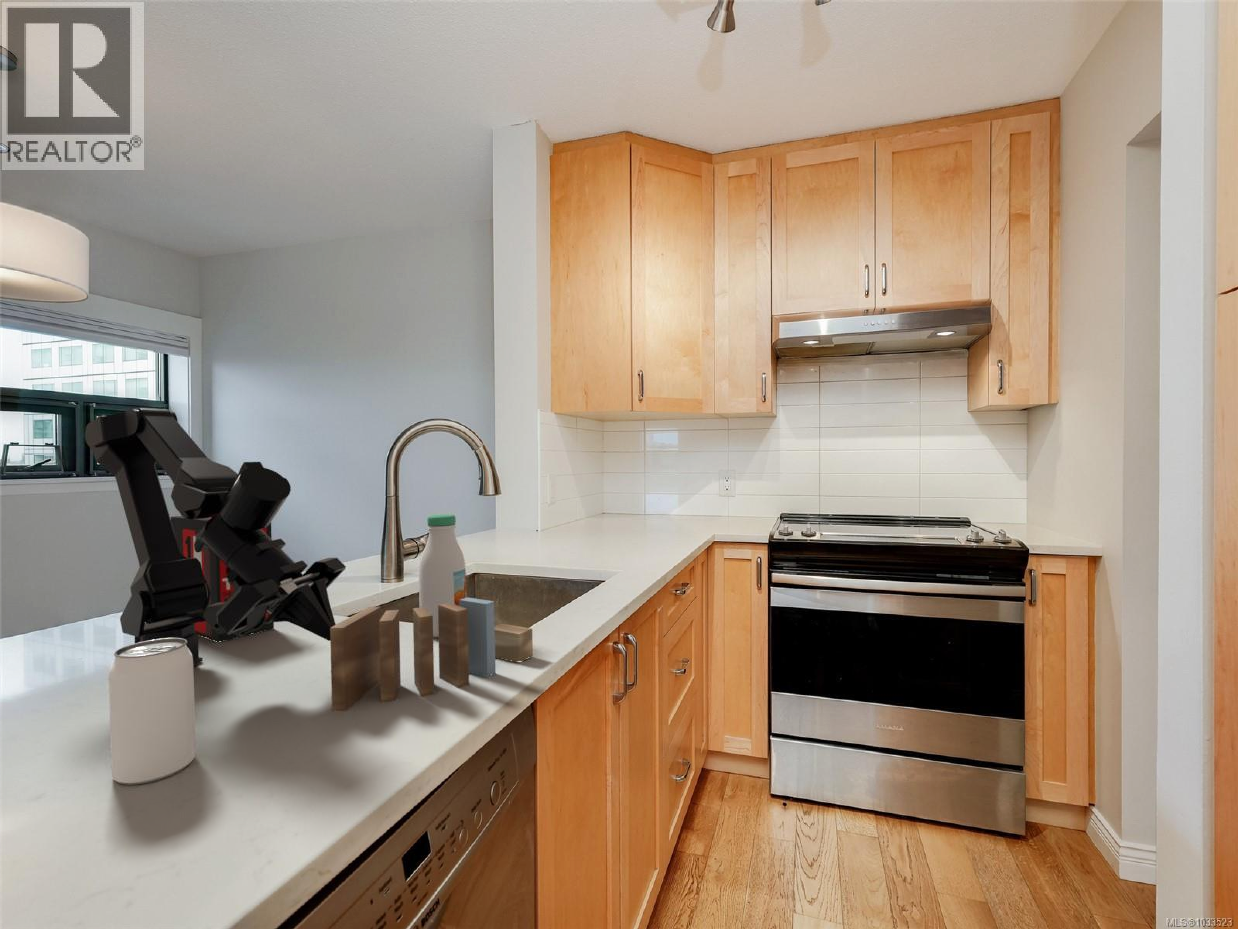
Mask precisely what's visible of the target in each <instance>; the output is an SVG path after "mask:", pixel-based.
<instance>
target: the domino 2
mask: <svg viewBox="0 0 1238 929" xmlns="http://www.w3.org/2000/svg"><path fill="white" fill-rule="evenodd" d="M379 633H380V679H381V682H380V702H381V703H383V702H393V701H396V698H397V696H398V693H399V691H400V688H401V684H402V683H401V682H402V681H401V649H400V648H401V645H400V644H401V641H400V637H401V636H400V635H401V634H400V609H391V610H385V612H384V613H383V614H382V615H381V619H380V621H379Z"/></svg>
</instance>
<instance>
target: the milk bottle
mask: <svg viewBox="0 0 1238 929" xmlns="http://www.w3.org/2000/svg"><path fill="white" fill-rule="evenodd" d="M426 521H427V529H428V538H427V541H426V544H425V547H424V549H423V551H422V554H421V556H420V560H419V566H418V568H419V570H418V571H419V572H418V592H419V594H418V597H419V599H418V600H419V601H418V602H419V605H418V606H419V607H418V608H420V607H426V608H427V609H428V610H429V612H430V613H431V614H432V615H433V638H439V629H438V605H439V604H444V603H452V604H455V605H457V606H459V600H461V599H464V598H467V574H466V573H467V572H466V571H467V570H466V561H465V557H464V554H463V551H462V549H461V547H460V545H459V543H458V540H457V538H456V533H455V529H456V521H457V520H456V515H454V514H433V515H429V516H427V520H426Z"/></svg>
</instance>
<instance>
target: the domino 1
mask: <svg viewBox="0 0 1238 929" xmlns="http://www.w3.org/2000/svg"><path fill="white" fill-rule="evenodd" d="M381 618H382V608H381V606H368V607H367V608H364V609H363V610H360V611H358V612H357V613H356V614H353V615H352V616H350V617H348V618H346V619H344V620H342V621H340V622H338V623H335V624H336V625H334V626H333V627H331V628H330V641H329V642H330V677H331V678H330V680H331V681H330V682H331V711H332V712H346V711H348V710H349V709H350V708H351V707H353V705H355V704H356V703H357V702H358V701H359V700H361V699H362V698H363V697H365V695H367V694H368V693H369V692H370V691H372V689H374V688H375V687H376V686H377V685H379V684H381V679H380V633H379V621H380V619H381Z"/></svg>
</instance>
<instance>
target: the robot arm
mask: <svg viewBox="0 0 1238 929" xmlns="http://www.w3.org/2000/svg"><path fill="white" fill-rule="evenodd" d="M84 437H85V442H86V444H87V446H88V447H90V449H91V451H92V454H93V456H94V459H95V462H96V464H98V465H100V466H101V467H102V468H103V469H105V471H107V472H108V473H110V474H111V475H113V476H114V478H115V481H116V485H117V487H118V492H119V495H120V499H121V502H122V506H123V510H124V514H125V517H126V521H127V524H128V527H129V532H130V536H131V539H132V542H133V546H134V550H135V553H136V558H137V561H138V564H139V567H138V570H137V572H136V574H135V576H134V578H133V581H132V583H131V584H130V593H131V596H130V598H129V600H128V602H127V604H126V606H125V608H124V610H123V611H122V614H121V615H120V617H119V621H120V626H121V630H122V633H123V634H127V635H128V636H133V637H134V644H135V643H139V642H144V641H149V640H155V639H163V638H182V639H186V640H187V644H186V645H187V647H188V649H189V650H190V652H191V653H192V656H193V667H194V666H196V665H198V664H200V663H201V662H203V661H204V660H203V659H204V658H203V657H200V656H199V654H200V652H199V651H200V649H199V636H198V634H195V623H198V622H204V621H205V620H206V621H207V623H208V624H209V625H210V626H211V627H212V628H214V629H216V632H217V633H218V634H222V633H224V632H226V633H227V634H228V635H229V634H232V633H234V634H236V635H238V636H240V637H239V638H242V637H241V636H243V637H245V636H244V635H245V634H246V633H248V632H250V631H252V630H258V629H259V628H260V627H262V625H263V624H264V623H266V624H269V623H272V622H274V623H280V622H281V623H282V622H287V623H290V624H293V625H296V626H297V627H300V628H302V629H304V630H306V631H308V632H310V633H312V634H314V635H316V636H319V637H321V638H323V639H324V640H326V641H329V642H330V628H331V627H333V626H334V625H336V624H337V623H336V621H335V618H334V614H333V610H332V607H331V603H330V599H329V595H328V590H327V589H328V587H330V586H331V585H333V583H334V581H335V580H336V579H337V578H338V577H339V576H340V575H341V574H342V573H343V572H344V571H345V569H346V568H347V567H346V565H345V564H344V563H343V562H342V561H341V560H340V559H339V558H338V557H327V558H323V559H320V560H317V561H314V562H313V563H312V564H311V565H310V567H308V564H307V563H306V562H305V561H304V560H299V561H294V560H293V559H292V558H291V557H290V556H289V555H288V554H287V552H285V551H284V550H283V548H284V546H286V545H287V543H286V542H285V541H284V540H283V539H282V538H277V539H271V538H270V537H269V536H268V535H267V534H266V533H265V532H264V531H263V530H262V528H265V527H267V526H268V525H269V524H270V523H271V524H272V521H273V519H274V518H275V516H277V514H278V512H279V510H280V509H281V508H282V506H283V505H284V503H285V501H286V500H287V499H288V497H289V496H290V493H291V491H292V489H291V488H292V487H291V484H290V482H289V480H288V479H287V478H286V477H283V476H282V475H281V474H280V473H278V472H277V471H275V470H273V469H270V468H266V467H265V466H264V465H263V464H262V462H261V461H243V462H242V465H241V466H240V468H239V471H238V473H237V472H236V471H235V470H233V469H232V468H231V467H230V466H227V465H224V464H221V463H218V462H216V461H213V460H211V459H210V458H209V457H208V456H207V455H206V454H205V452H203V450H202V449H201V448H200V447H199V445H198V444H197V443H196V442H195V440H193V438H192V437H191V436H190V435H189V434H188V432H187V431H186V430H185V429H184V428H183V427H182V426H181V424H180V423H179V422H178V417H177V414H176V413H175V412H174V411H173V410H169V409H166V408H150V407H136V408H131V409H129V410H127V411H125V412H120V413H115V414H110V415H109V414H108V415H98V416H97V417H96V418H95V419H94V420H92V421H90V422H88V424H86V427H85V431H84ZM156 463H158V464H159V466H160V467H161V468H162V469H163V471H164V472H165V473H166V474H167V476H168V477H169V478H170V480H171V481H172V483H173V488H172V491H171V494H170V498H171V500H172V502H173V506H174V508H175V510H177V511H178V512H179V514H180V516H183V517H184V518H185V519H187V520H190V519H191V520H192V519H203V518H210V519H209V520H208V521H207V523H206V524H205V526H204V528H203V529H200V530H197V531H195V536H196V539H195V543H194V549H195V551H196V552H197V553H198V552H201V551H204V550H206V549H210V550H211V551H212V552H213V553H214V554H215V555H216V556H217V557H218V558H219V559H220V560H221V561H222V562H223V563H224V564H225V565H226V566H227V567H228V568H229V569H230V570H231V572H230V573H229V574H228V575H227V576H226V577H227V578H228V580H227V581H228V583H229V584H230V585H231V586H232V587H233V589H234V590H233V591H232V593H231V595H230V596H229V597H226V598H224V601H226V603H216V604H213V605H210V606H208V605H209V599H210V590H209V586H208V584H207V581H206V579H205V577H204V575H203V572H202V567H201V563H200V561H199V560H198V559H197V558H190V559H188V558H186V557H185V556H184V555H182V554H181V552H180V550H179V547H178V543H177V540H176V536H175V533H174V529H173V526H172V523H171V516H170V513H169V509H168V506H167V503H166V500H165V496H164V492H163V489H162V485H161V482H160V478H159V475H158V473H157V469H156ZM307 567H308V568H307ZM306 568H307V570H306V571H305V572H304V570H305V569H306ZM303 572H304V573H303ZM267 612H269V613H270V615H269V616H268V618H267V619H266V614H267Z"/></svg>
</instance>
